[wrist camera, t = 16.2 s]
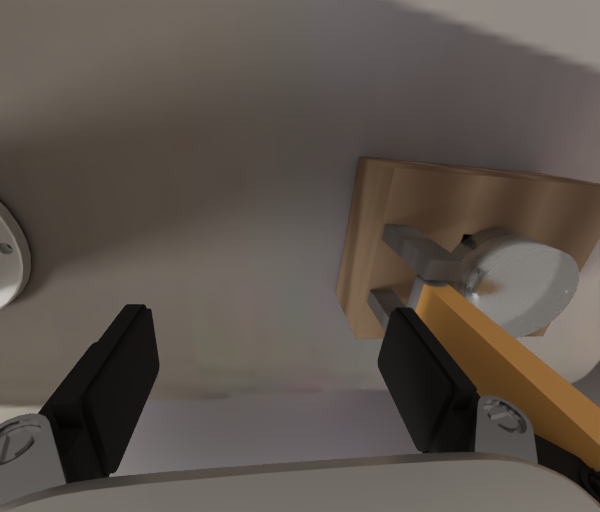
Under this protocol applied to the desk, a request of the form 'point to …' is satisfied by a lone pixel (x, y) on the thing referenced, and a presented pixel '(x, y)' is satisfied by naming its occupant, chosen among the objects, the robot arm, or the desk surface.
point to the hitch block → (447, 227)
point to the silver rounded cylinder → (514, 279)
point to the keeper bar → (509, 370)
